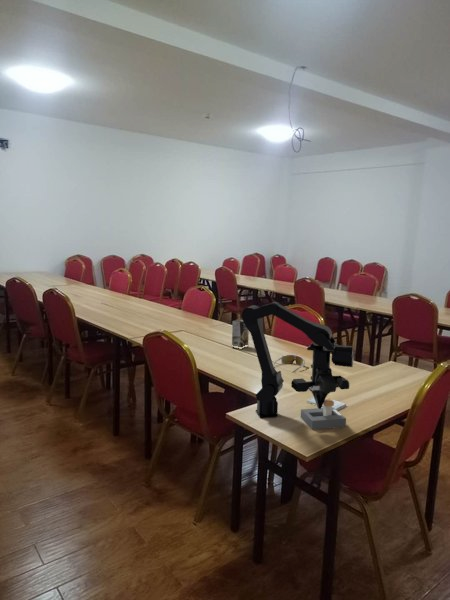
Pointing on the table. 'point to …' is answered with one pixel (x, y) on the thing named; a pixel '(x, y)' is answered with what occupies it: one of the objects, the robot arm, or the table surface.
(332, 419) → the breaker panel
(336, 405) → the hard drive
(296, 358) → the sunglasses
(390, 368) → the table surface
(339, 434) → the table surface
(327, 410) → the lever
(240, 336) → the coffee box
